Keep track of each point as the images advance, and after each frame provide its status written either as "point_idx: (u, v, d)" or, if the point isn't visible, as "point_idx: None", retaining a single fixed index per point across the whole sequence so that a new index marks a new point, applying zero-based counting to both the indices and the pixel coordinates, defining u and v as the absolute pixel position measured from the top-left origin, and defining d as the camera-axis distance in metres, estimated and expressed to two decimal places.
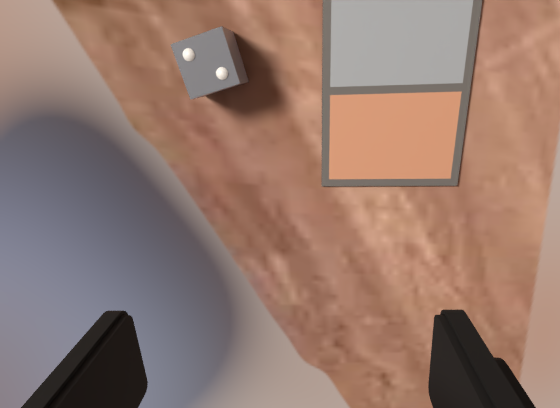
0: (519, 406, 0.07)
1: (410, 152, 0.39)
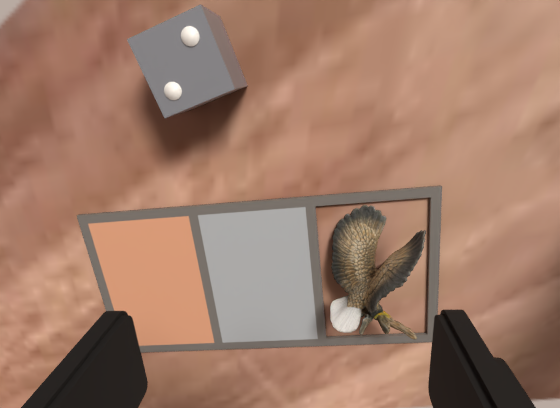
0: (519, 406, 0.07)
1: (142, 306, 0.34)
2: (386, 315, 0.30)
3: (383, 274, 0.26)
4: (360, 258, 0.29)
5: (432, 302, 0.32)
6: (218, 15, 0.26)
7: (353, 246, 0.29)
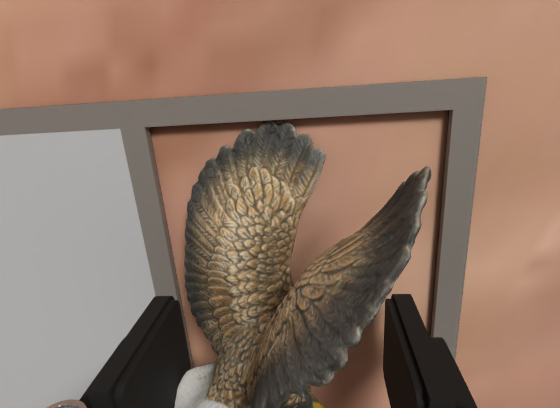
0: (441, 374, 0.08)
1: None
2: None
3: (283, 321, 0.08)
4: (244, 263, 0.10)
5: None
6: None
7: (227, 230, 0.10)
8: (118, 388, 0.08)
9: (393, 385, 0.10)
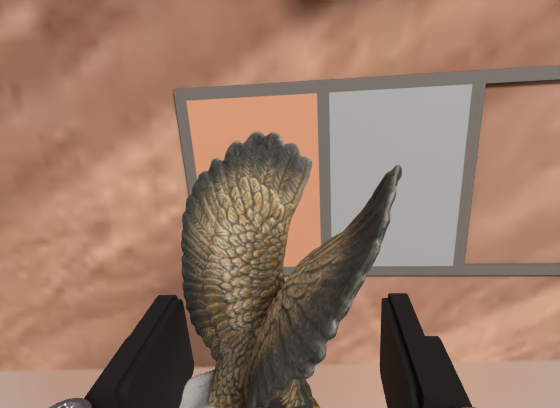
0: (436, 372, 0.08)
1: None
2: None
3: (271, 322, 0.08)
4: (237, 270, 0.11)
5: None
6: None
7: (220, 238, 0.11)
8: (123, 387, 0.08)
9: (389, 384, 0.10)
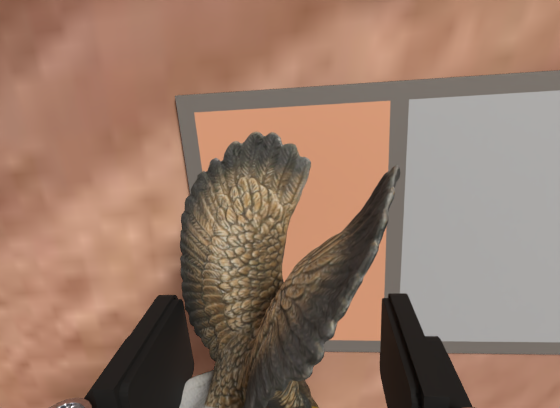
0: (435, 372, 0.08)
1: None
2: None
3: (270, 322, 0.08)
4: (236, 270, 0.11)
5: None
6: None
7: (219, 239, 0.11)
8: (123, 387, 0.08)
9: (389, 384, 0.10)
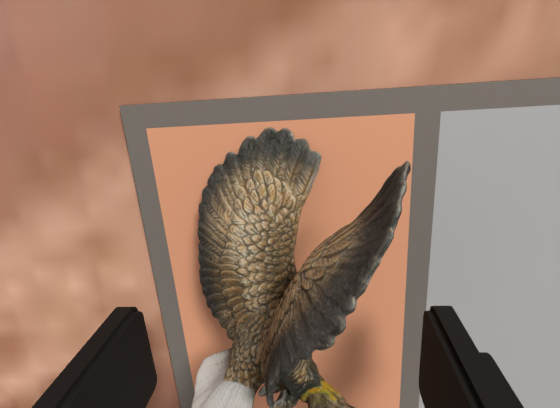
0: (501, 397, 0.07)
1: None
2: (328, 394, 0.12)
3: (291, 301, 0.09)
4: (253, 256, 0.11)
5: None
6: None
7: (236, 227, 0.11)
8: None
9: (436, 403, 0.10)
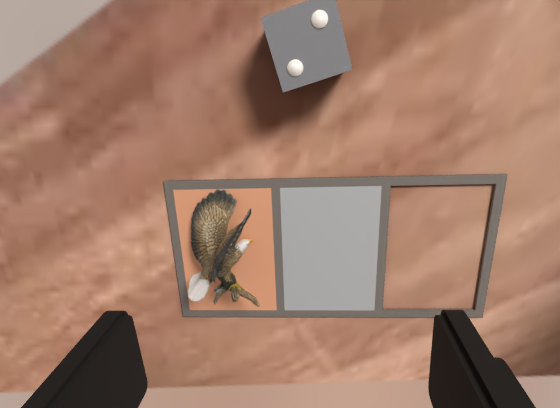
0: (519, 406, 0.07)
1: None
2: (238, 286, 0.33)
3: (219, 248, 0.30)
4: (210, 236, 0.33)
5: (484, 280, 0.35)
6: None
7: (205, 225, 0.33)
8: None
9: None
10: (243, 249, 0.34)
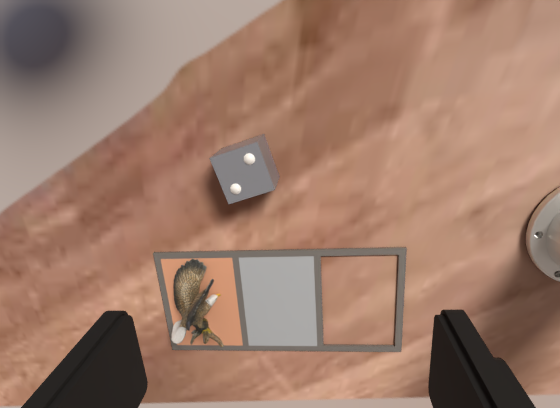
0: (519, 406, 0.07)
1: None
2: (208, 331, 0.45)
3: (191, 306, 0.42)
4: (187, 294, 0.44)
5: (398, 324, 0.46)
6: (263, 134, 0.39)
7: (182, 287, 0.44)
8: None
9: None
10: (212, 303, 0.45)
